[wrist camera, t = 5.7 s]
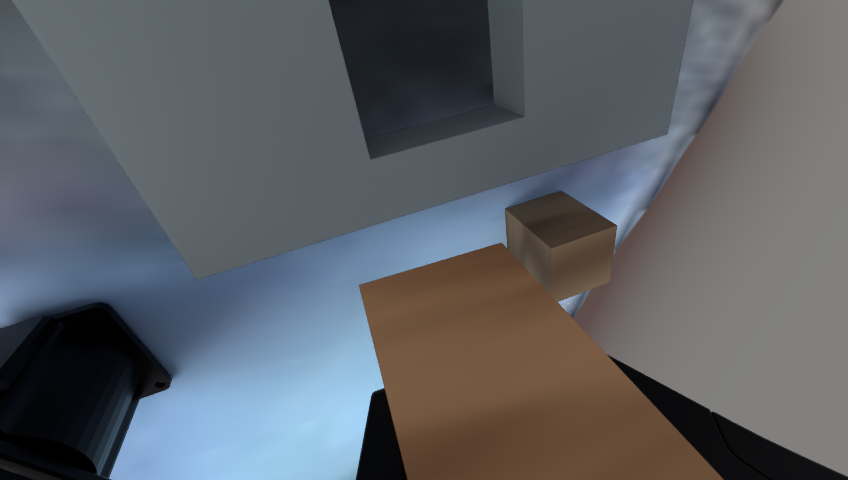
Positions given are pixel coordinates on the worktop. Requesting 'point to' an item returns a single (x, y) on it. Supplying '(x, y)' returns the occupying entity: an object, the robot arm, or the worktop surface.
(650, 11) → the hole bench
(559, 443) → the long pin
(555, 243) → the short pin
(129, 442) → the worktop surface
